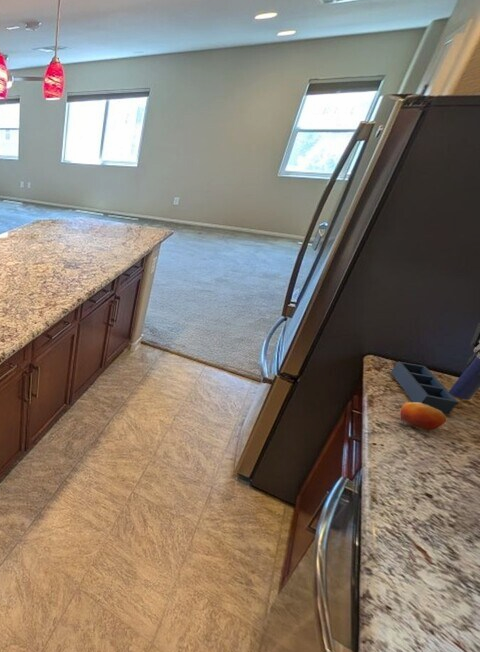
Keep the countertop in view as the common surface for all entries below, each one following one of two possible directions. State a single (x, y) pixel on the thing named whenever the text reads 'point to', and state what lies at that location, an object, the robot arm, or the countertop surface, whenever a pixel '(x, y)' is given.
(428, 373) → the rack
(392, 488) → the countertop surface
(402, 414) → the fruit
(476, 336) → the robot arm
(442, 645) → the countertop surface
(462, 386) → the thermos
